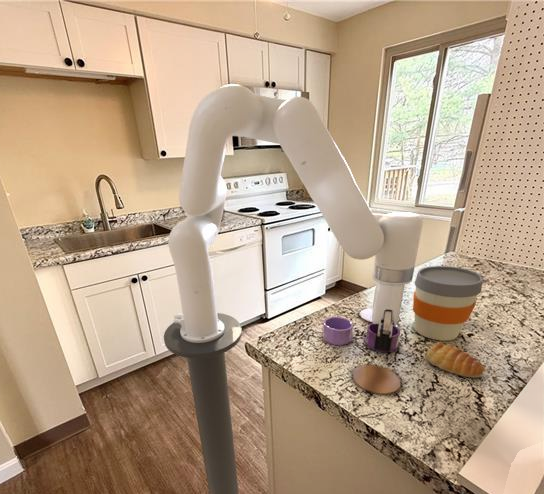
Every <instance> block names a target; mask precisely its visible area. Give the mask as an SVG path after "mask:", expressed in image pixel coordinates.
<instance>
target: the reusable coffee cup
mask: <svg viewBox="0 0 544 494" xmlns="http://www.w3.org/2000/svg"><path fill="white" fill-rule="evenodd" d="M415 277H416V278H415V279H414V285H415V290H414V292H413V297H412V299H413V301H412V311H413V313H414V327H413V328H414V330H415V331H416V333H418V334H419V335H421V336H422V337H425V338H427V339H431V340H436V341H453V340H455V339H457V338H458V336H459V334H460V333H461V330H462V329H463V326H464V324H465V323H466V322H467V321H468V320H469V319H470V316H471V315H472V313H473V310H474V308H475V306H476V305H477V300H476V299H477V297H478V296H479V294H481V292H482V289H483V282H484V277H483V276H482V275H481V274H480V273H478V272H476V271H473V270H470V269H468V268H463V267H456V266H448V265H432V266H431V265H430V266H426V267H422V268H420V269H419V270H418V271H417V274H416V276H415Z"/></svg>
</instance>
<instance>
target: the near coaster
mask: <svg viewBox="0 0 544 494" xmlns="http://www.w3.org/2000/svg"><path fill="white" fill-rule="evenodd" d="M352 380H353V381H354V383H355V384H356V385H357V386H358V387H359V388H361V389H362V390H364V391H366V392H369V393H372V394H375V395H391V394H394V393H396V392H398V391H399V390H400V388H401V386H402V383H401V380H400V378H399V376H398V375H397V374H396V373H395V372H394V371H392V370H390V369H388V368H386V367H383V366H380V365H375V364H364V365H363V364H362V365H360V366H357V367H356V368H354V370H353V371H352Z"/></svg>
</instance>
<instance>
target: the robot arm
mask: <svg viewBox="0 0 544 494" xmlns="http://www.w3.org/2000/svg"><path fill="white" fill-rule="evenodd" d="M231 137H239V138H240V137H241V138H247V139H252V140H258V141H262V142H267V143H272V144H273V143H274V144H278V145H279V146H280V147H281V149H282V150H283V152H284V154H285V156H286V157H287V159H288V160H289V162H290V164H291V165H292V167H293V169H294V171H295V173H296V174H297V176H298V177H299V179H300V181H301V182H302V185H303V186H304V187H305V189H306V191H307V193H308V195H309V197H310V198H311V199H312V201H313V202H314V204H315V205H316V207H317V208H318V210H319V212H320V214H321V215H322V217H323V218H324V221H325V222H326V224H327V225H328V227H329V229H330V231H331V232H332V234H333V236H334V237H335V239H336V241H337V243H338V244H339V246H340V247H341V249H342V251H343V252H344V253H345V254H346V255H347V256H348V257H350V258H352V259H354V260H359V261H361V260H362V261H363V260H368V259H370V258H374V262H373V271H372V279H373V281H375V282H376V284H375V289H374V295H373V303H372V308H373V309H372V323H373V324H379V325H378V334H376V338H375V344H374V349H375V350H374V351H376V350H380V351H387V352H386V353H390V352H389V351H390V347H391V341H392V329H393V326H396V327H397V325H398V322H399V318H400V313H401V308H402V304H403V298H404V292H405V285H408V284H411V283H412V281H413V277H414V271H415V266H416V262H417V258H418V257H417V256H418V250H419V245H420V241H421V235H422V230H423V225H424V221H423V218H422V216H421V215H419V214H417V213H413V212H392V213H387V214H384V213H383V214H382V213H374V212H373V211H372V209H371V208H370V206H369V204H368V202H367V200H366V199H365V197H364V195H363V193H362V192H361V190H360V188H359V186H358V184H357V182H356V181H355V177H354V175H353V174H352V171H351V169H350V167H349V166H348V163H347V162H346V160H345V157H344V156H343V155H342V152H341V151H340V149H339V148H338V145H337V144H336V142H335V140H334V138H333V137H332V134H331V133H330V132H329V130H328V128H327V126H326V124H325V122H324V120H323V119H322V117H321V115H320V113H319V111H318V110H317V108H316V106H315V105H314V104H313V103H312V101H311V100H310V99H308V98H307V97H304V96H293V97H291V98H289V99H281V98H276V97H270V96H266V95H262V94H261V95H259V94H256V93H254V92H253V91H252V90H251V89H250V88H248V87H246V86H244V85H241V84H226V85H223V86H220V87H218V88H215V89H213V90H212V91H210V92H209V93H207V94H206V95H205V96H203V98H202V99H201V101H199V103H198V104H197V106H196V107H195V109H194V111H193V113H192V117H191V120H190V123H189V128H188V134H187V142H186V149H185V153H184V154H185V155H184V160H183V164H182V165H183V166H182V172H181V178H180V185H179V192H178V202H179V205H180V207H181V209H182V210H183V211H184V212H185V214H186V218H184V219H183V220H181V221H179V222H178V223H177V224H175V225H174V226H173V227H172V229H171V231H170V233H169V235H168V243H167V244H168V249H169V253H170V256H171V259H172V262H173V265H174V269H175V274H176V280H177V285H178V292H179V298H180V305H181V311H182V313H178V312H175V314H174V317H173V318H174V319H173V323H176V324H181V325H182V327H181V329H180V333H181V336H182V338H183V339H184V340H186V341H189V342H193V343H204V342H209V341H212V340H215V339H217V338H218V337H220V336H221V335H222V334H223V332H224V324H223V323H222V321H220V320H218V315H217V313H218V307H217V298H216V288H215V287H216V286H215V278H214V271H213V265H212V261H211V257H210V254H209V248H210V247H211V246H212V245H213V244H214V243H215V241H216V239H217V238H218V235H219V231H220V227H221V222H222V218H223V214H224V209H225V204H226V200H227V185H226V181H225V180H224V178H223V176H222V169H223V166H224V162H225V157H226V156H225V155H226V146H227V143H228V141H229V139H230V138H231ZM381 322H384V323H381ZM381 325H382V326H383V329H381Z"/></svg>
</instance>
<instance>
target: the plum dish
mask: <svg viewBox="0 0 544 494" xmlns="http://www.w3.org/2000/svg"><path fill="white" fill-rule="evenodd" d="M381 323H384V322H381ZM378 325H379V324H373V323H369V324H368V325H367V327H366V335H365V344H366V346H367V347H368V348H369V349H370V350H373V351H376V352H379V353H392V352H395V351H396V350H398V347H399V342H400V337H401V329H400V328H399V327H398V326H397V325H396V326H393V329H392V341H391V347H390V351H389V352H387V351H380V350H375V349H374V344H375V338H376V334H378ZM381 329H383V326H382V325H381Z"/></svg>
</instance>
